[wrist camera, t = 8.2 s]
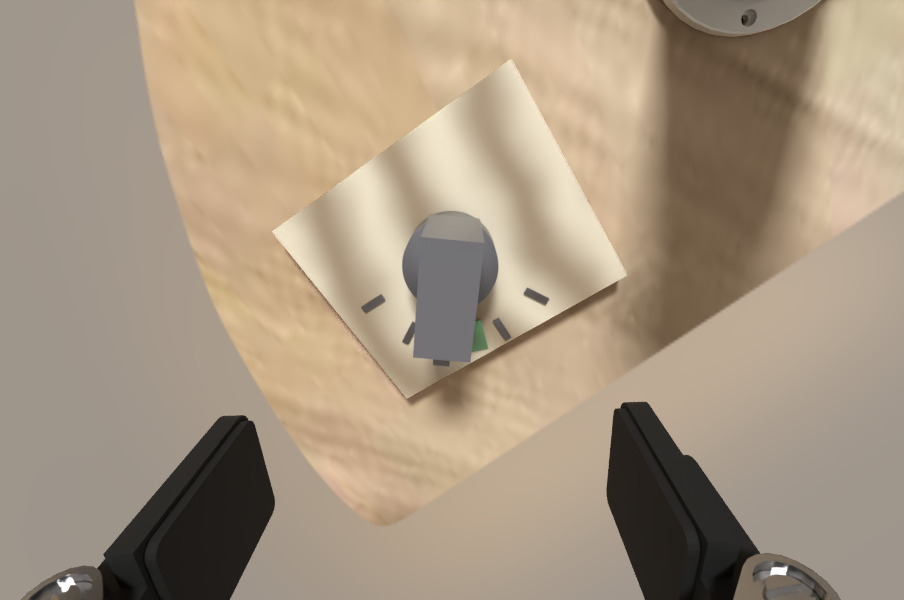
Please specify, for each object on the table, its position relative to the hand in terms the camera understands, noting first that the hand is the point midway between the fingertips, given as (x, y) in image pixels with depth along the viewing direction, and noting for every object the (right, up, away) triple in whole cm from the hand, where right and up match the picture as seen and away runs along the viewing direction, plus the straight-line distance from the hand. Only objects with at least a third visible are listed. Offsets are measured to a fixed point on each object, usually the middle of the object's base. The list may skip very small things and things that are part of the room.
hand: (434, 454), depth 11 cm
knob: (0, +5, +19) cm, 20 cm away
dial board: (0, +8, +21) cm, 22 cm away
